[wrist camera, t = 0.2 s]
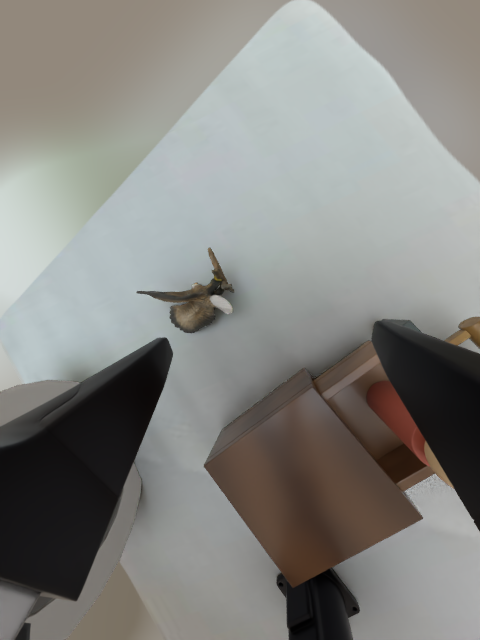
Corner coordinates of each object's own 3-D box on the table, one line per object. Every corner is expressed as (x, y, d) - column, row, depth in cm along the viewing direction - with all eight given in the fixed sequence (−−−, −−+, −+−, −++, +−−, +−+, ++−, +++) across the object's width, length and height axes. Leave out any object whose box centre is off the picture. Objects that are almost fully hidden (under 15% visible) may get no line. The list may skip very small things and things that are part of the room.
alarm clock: (154, 511, 27) (-168, 1013, 8) (111, 524, 28) (-253, 977, 9) (93, 364, 28) (-317, 474, 9) (54, 384, 30) (-371, 516, 10)
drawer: (418, 292, 20) (456, 286, 15) (510, 387, 18) (579, 409, 14) (292, 386, 22) (294, 403, 18) (365, 474, 21) (386, 516, 17)
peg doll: (414, 402, 19) (558, 496, 9) (383, 422, 20) (486, 531, 10) (388, 373, 19) (500, 434, 10) (358, 394, 20) (434, 472, 10)
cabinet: (304, 367, 23) (312, 386, 17) (384, 461, 21) (424, 519, 15) (221, 429, 25) (203, 466, 19) (289, 519, 24) (292, 588, 18)
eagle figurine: (206, 243, 23) (138, 282, 23) (214, 250, 17) (122, 303, 17) (236, 297, 27) (177, 331, 27) (252, 319, 21) (175, 363, 21)
